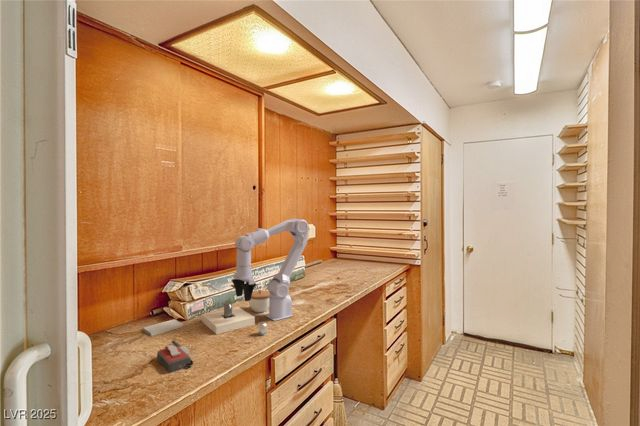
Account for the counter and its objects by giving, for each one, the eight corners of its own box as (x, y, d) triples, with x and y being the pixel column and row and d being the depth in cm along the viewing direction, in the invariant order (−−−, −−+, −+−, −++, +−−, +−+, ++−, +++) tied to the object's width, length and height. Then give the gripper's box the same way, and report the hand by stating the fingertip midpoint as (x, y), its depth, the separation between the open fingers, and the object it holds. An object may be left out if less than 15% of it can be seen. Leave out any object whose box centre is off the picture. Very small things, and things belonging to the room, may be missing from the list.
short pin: (264, 331, 124) (264, 321, 123) (268, 334, 121) (268, 324, 121) (256, 333, 121) (256, 323, 121) (260, 336, 119) (260, 325, 119)
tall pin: (229, 321, 134) (230, 302, 133) (233, 323, 131) (233, 304, 131) (222, 322, 132) (222, 303, 131) (225, 325, 129) (225, 305, 129)
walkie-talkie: (200, 365, 98) (176, 344, 113) (200, 351, 98) (176, 331, 112) (170, 376, 92) (148, 351, 106) (170, 361, 92) (148, 338, 106)
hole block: (237, 313, 143) (237, 306, 143) (254, 324, 130) (254, 317, 130) (201, 321, 133) (201, 314, 132) (216, 334, 120) (216, 326, 120)
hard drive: (151, 333, 118) (183, 323, 127) (142, 327, 123) (174, 318, 133) (151, 337, 118) (183, 327, 127) (142, 331, 123) (174, 322, 133)
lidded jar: (243, 312, 144) (243, 292, 144) (255, 305, 154) (255, 286, 154) (265, 315, 141) (265, 294, 140) (275, 307, 151) (275, 288, 151)
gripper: (227, 263, 134) (226, 295, 134) (242, 269, 122) (242, 304, 123) (242, 261, 138) (242, 292, 139) (259, 267, 127) (258, 301, 127)
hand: (243, 298), depth 131 cm, fingers open, 7 cm apart
